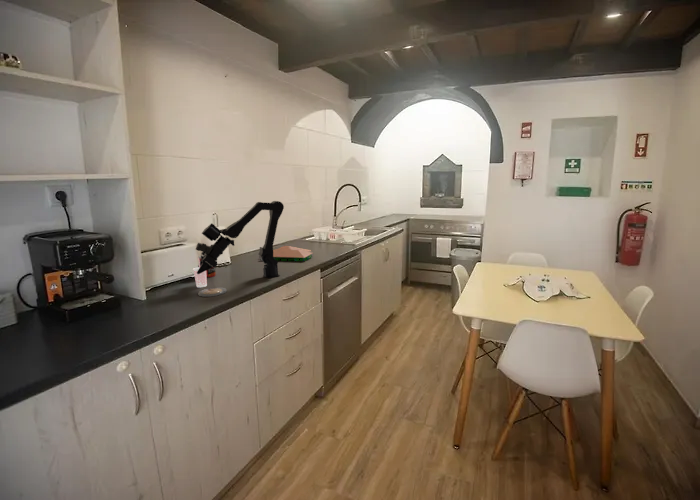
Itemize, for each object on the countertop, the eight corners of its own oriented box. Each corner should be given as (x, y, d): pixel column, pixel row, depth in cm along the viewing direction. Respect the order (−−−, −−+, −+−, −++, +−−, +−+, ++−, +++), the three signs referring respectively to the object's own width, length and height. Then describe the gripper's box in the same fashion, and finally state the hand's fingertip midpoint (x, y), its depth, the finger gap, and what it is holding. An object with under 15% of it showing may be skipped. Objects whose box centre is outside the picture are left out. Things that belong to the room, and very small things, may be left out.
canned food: (210, 278, 187) (208, 257, 185) (197, 277, 189) (194, 257, 187) (218, 274, 194) (216, 254, 192) (205, 274, 196) (203, 254, 194)
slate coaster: (221, 287, 169) (220, 285, 169) (230, 292, 160) (230, 291, 160) (194, 292, 162) (194, 291, 161) (203, 298, 152) (203, 297, 152)
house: (273, 254, 249) (273, 242, 247) (318, 255, 240) (317, 243, 238) (256, 261, 227) (255, 248, 226) (304, 262, 218) (304, 249, 217)
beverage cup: (202, 288, 168) (199, 259, 166) (192, 287, 170) (188, 258, 168) (211, 284, 174) (208, 256, 171) (201, 283, 176) (198, 256, 173)
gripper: (203, 234, 178) (182, 258, 175) (206, 239, 161) (183, 265, 159) (222, 248, 183) (201, 272, 180) (226, 254, 166) (203, 280, 163)
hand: (197, 272), depth 170 cm, fingers closed on beverage cup, 6 cm apart
